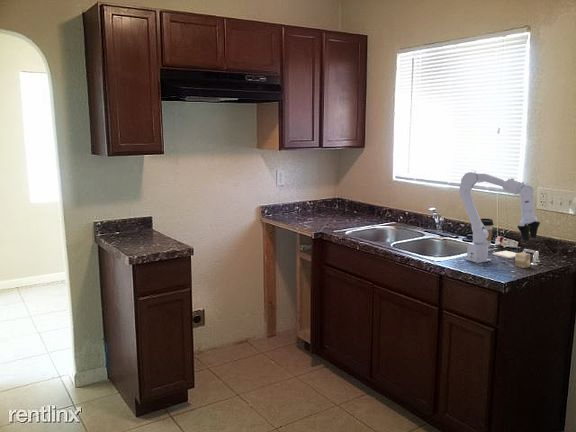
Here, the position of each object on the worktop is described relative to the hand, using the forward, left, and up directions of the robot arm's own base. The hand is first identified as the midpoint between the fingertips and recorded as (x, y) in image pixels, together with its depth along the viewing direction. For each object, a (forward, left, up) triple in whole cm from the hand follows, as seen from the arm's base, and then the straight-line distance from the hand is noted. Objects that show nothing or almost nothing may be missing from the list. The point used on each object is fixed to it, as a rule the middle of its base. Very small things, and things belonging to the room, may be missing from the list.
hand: (529, 238), depth 238 cm
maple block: (-4, 0, -13) cm, 13 cm away
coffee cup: (+14, +38, -13) cm, 43 cm away
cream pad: (+8, +18, -13) cm, 24 cm away
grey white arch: (+6, +4, -13) cm, 15 cm away
